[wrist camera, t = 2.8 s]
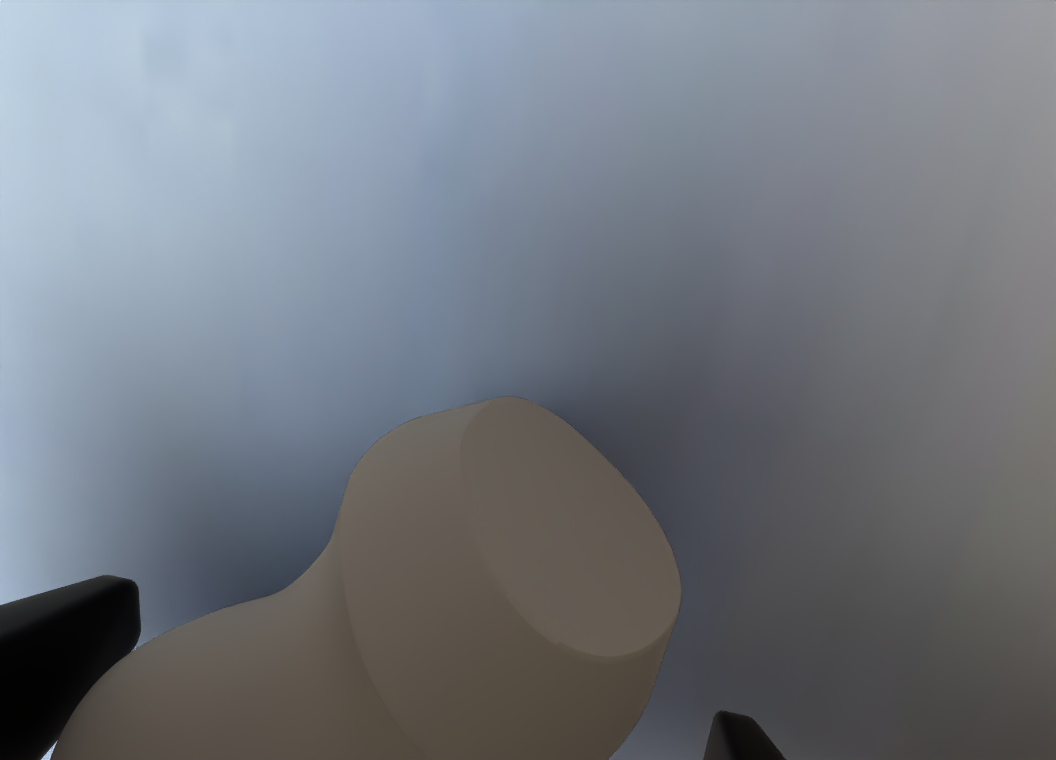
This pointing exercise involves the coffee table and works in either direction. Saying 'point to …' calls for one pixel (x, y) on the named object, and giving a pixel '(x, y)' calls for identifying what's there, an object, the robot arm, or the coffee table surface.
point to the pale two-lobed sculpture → (424, 617)
